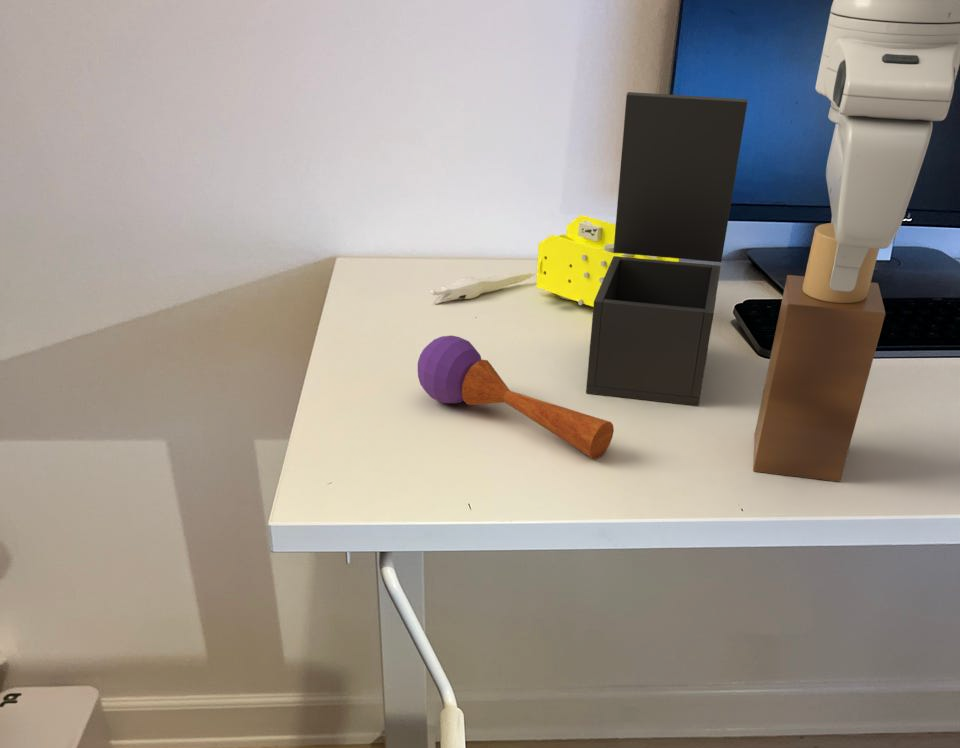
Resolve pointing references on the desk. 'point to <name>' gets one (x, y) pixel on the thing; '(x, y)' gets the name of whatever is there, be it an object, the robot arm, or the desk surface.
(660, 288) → the dark open-top box
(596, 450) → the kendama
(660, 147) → the dark box lid
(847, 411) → the stand
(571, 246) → the yellow toy chassis
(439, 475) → the desk surface
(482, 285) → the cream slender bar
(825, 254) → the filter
